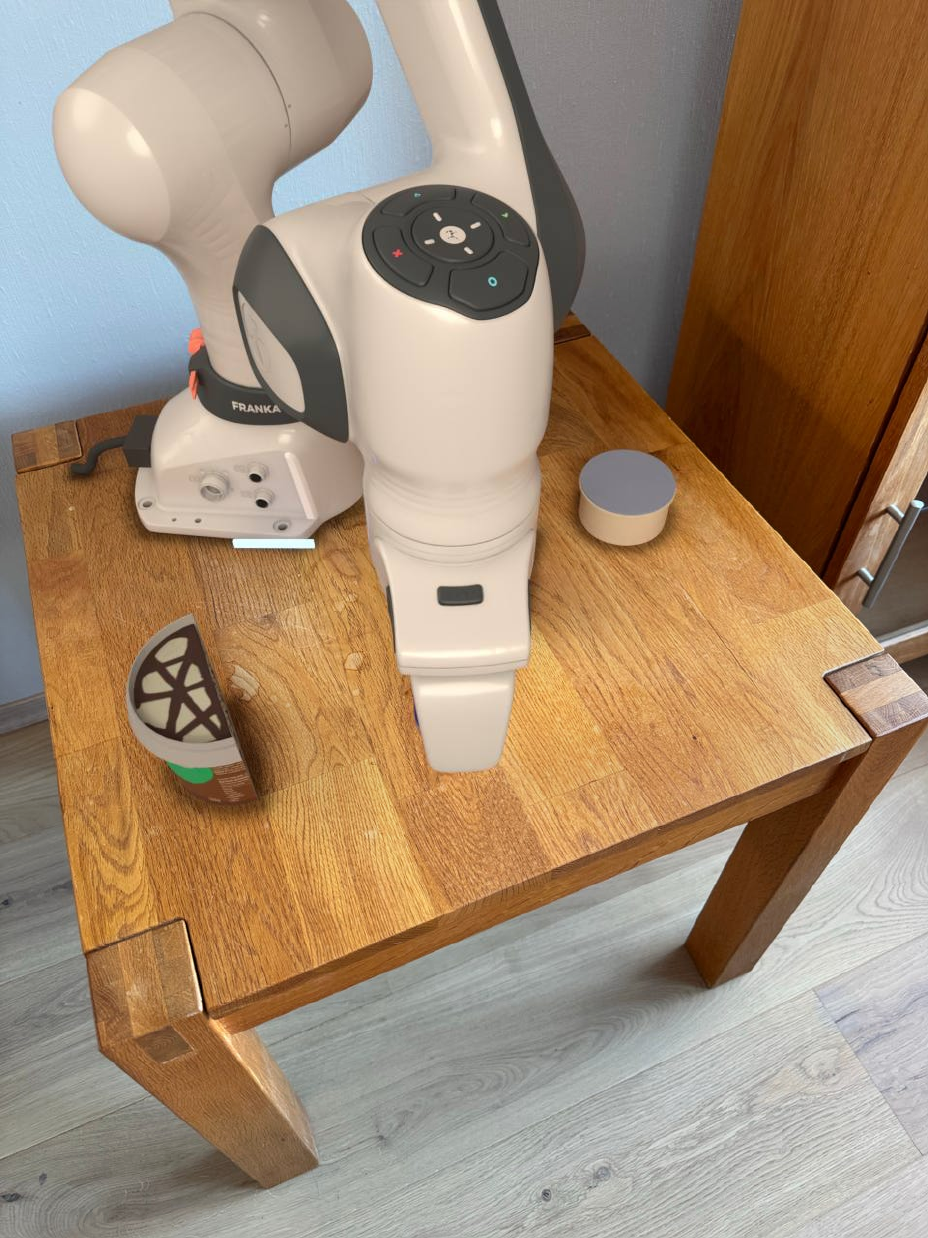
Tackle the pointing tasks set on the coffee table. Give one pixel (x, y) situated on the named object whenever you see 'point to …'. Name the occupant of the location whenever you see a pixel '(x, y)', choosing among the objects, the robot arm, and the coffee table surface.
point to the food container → (187, 715)
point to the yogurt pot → (625, 496)
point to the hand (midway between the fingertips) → (451, 673)
